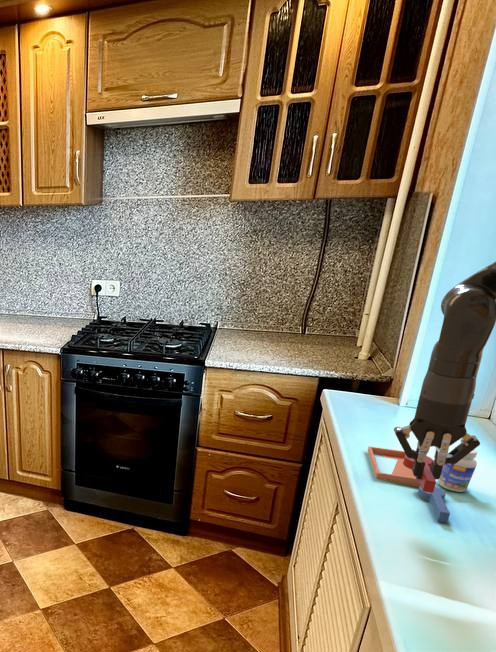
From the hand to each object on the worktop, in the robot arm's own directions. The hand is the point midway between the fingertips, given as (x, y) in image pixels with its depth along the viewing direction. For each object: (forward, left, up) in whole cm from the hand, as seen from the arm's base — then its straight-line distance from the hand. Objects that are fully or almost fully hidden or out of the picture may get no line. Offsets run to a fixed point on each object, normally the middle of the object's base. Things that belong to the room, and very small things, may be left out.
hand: (424, 478), depth 103 cm
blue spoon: (-11, -10, -12) cm, 19 cm away
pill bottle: (-20, -19, -12) cm, 30 cm away
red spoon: (-1, -3, -1) cm, 3 cm away
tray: (-12, -27, -12) cm, 32 cm away
